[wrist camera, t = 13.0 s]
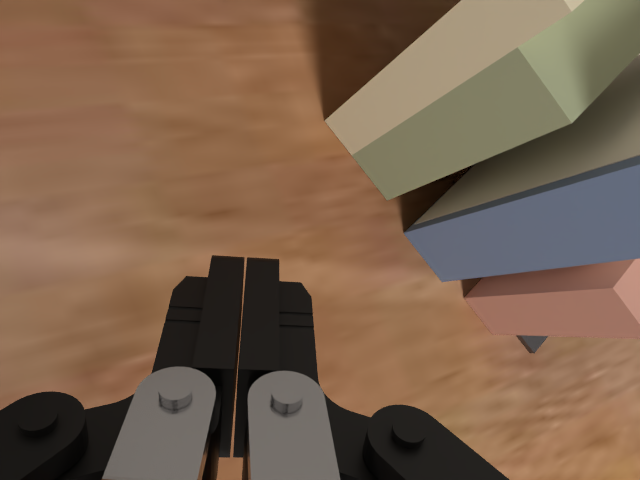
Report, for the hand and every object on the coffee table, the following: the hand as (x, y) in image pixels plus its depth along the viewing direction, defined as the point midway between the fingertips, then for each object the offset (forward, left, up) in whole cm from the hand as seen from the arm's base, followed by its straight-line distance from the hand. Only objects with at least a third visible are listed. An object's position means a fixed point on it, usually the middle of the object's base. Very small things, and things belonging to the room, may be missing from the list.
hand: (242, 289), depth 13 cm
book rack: (+8, +25, -22) cm, 35 cm away
